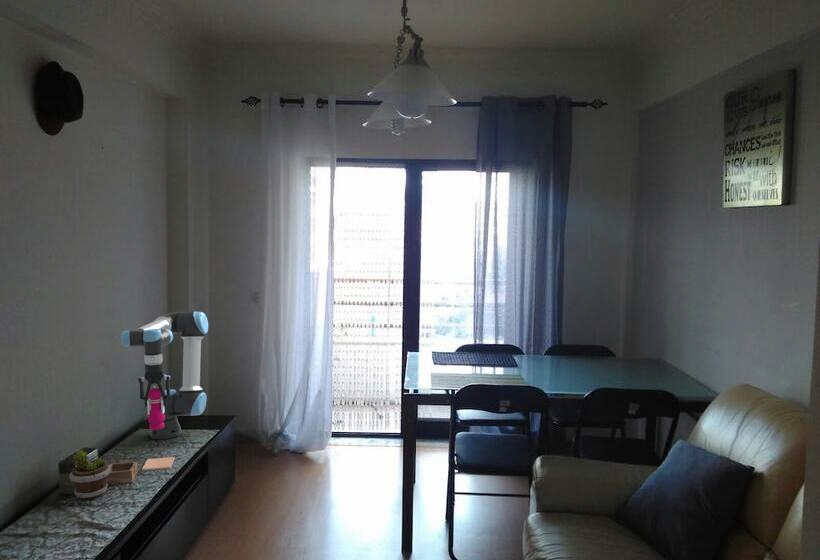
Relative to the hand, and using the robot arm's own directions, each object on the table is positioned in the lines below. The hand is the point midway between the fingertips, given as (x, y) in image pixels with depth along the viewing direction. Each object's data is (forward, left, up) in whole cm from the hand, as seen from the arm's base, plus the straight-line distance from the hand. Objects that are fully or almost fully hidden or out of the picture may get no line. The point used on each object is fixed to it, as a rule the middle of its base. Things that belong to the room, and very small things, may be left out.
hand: (156, 413), depth 285 cm
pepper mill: (0, 0, -7) cm, 7 cm away
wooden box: (+13, -13, -24) cm, 30 cm away
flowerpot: (+28, -21, -24) cm, 43 cm away
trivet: (0, 0, -24) cm, 24 cm away
